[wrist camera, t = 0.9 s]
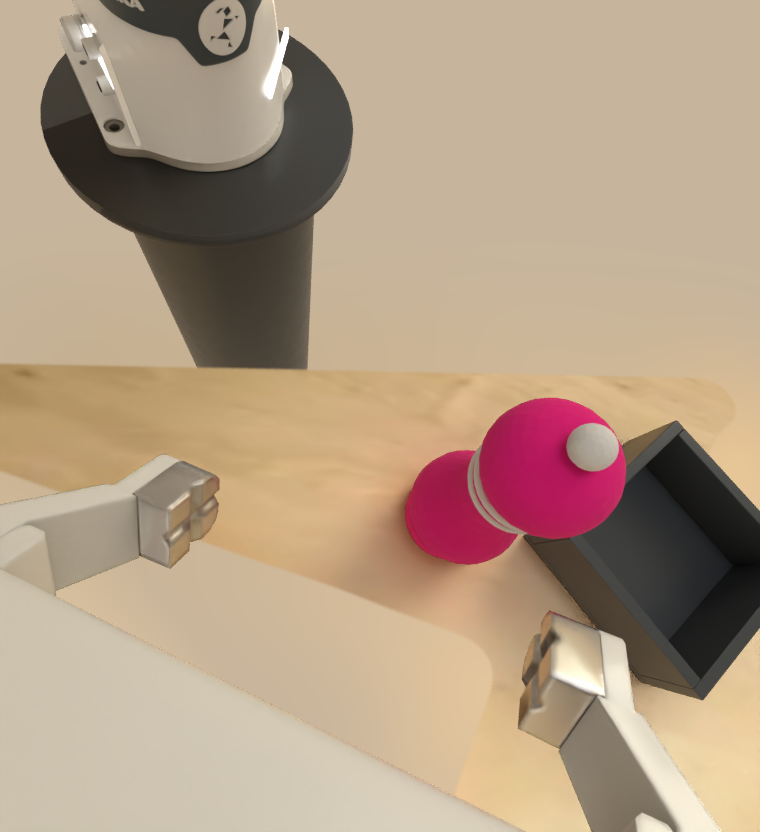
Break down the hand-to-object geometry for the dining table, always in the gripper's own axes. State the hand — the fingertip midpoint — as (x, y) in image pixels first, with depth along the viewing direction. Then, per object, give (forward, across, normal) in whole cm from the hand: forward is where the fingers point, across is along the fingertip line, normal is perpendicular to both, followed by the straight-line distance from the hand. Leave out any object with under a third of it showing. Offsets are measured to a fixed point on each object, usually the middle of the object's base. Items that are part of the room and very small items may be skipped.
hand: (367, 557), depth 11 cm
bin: (+26, -15, +14) cm, 33 cm away
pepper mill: (+21, -1, +14) cm, 26 cm away
